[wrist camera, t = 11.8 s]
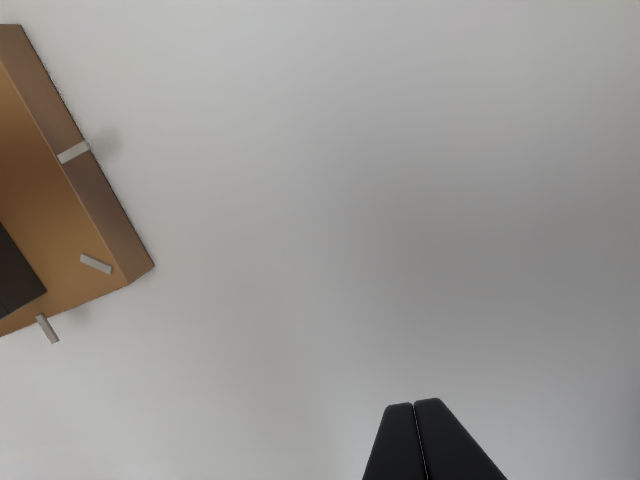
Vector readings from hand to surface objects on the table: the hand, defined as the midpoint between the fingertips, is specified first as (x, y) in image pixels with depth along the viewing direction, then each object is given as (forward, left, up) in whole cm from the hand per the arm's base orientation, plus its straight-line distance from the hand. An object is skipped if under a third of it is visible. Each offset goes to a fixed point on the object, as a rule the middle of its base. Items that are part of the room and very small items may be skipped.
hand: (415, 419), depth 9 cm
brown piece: (+7, +18, -12) cm, 23 cm away
